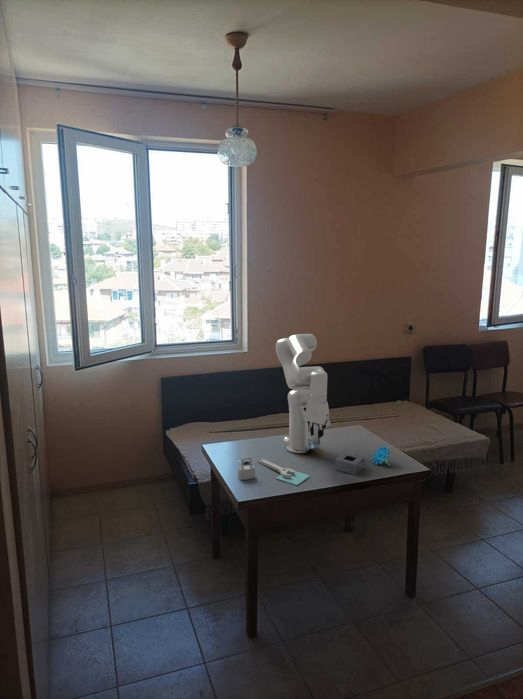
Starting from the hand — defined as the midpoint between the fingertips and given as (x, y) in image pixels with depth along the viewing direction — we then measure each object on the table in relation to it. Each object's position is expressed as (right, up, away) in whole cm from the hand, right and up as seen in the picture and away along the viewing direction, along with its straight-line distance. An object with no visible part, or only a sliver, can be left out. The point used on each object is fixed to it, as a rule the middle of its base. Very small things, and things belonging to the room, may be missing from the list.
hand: (316, 435), depth 227 cm
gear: (+32, -15, +9) cm, 36 cm away
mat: (-11, -18, -6) cm, 22 cm away
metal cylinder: (0, -4, +1) cm, 4 cm away
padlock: (-32, -18, -6) cm, 37 cm away
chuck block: (+16, -16, +3) cm, 23 cm away
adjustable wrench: (-19, -16, +3) cm, 25 cm away
